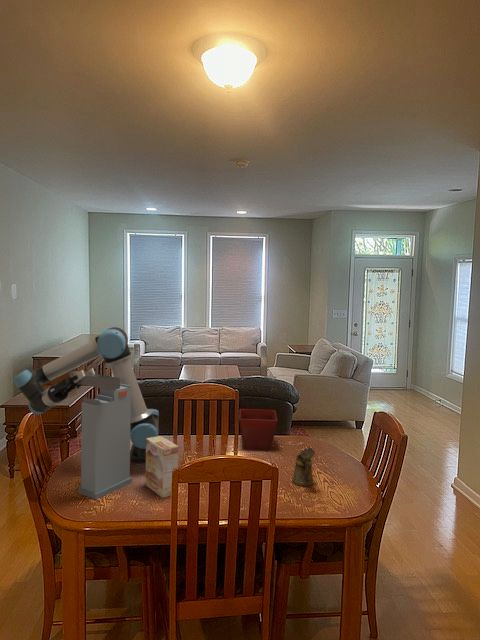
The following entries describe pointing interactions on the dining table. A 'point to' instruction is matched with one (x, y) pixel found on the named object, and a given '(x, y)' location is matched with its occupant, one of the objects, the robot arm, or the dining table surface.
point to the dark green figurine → (303, 468)
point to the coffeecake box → (160, 464)
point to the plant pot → (257, 428)
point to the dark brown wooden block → (98, 381)
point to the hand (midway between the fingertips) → (88, 372)
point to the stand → (105, 442)
